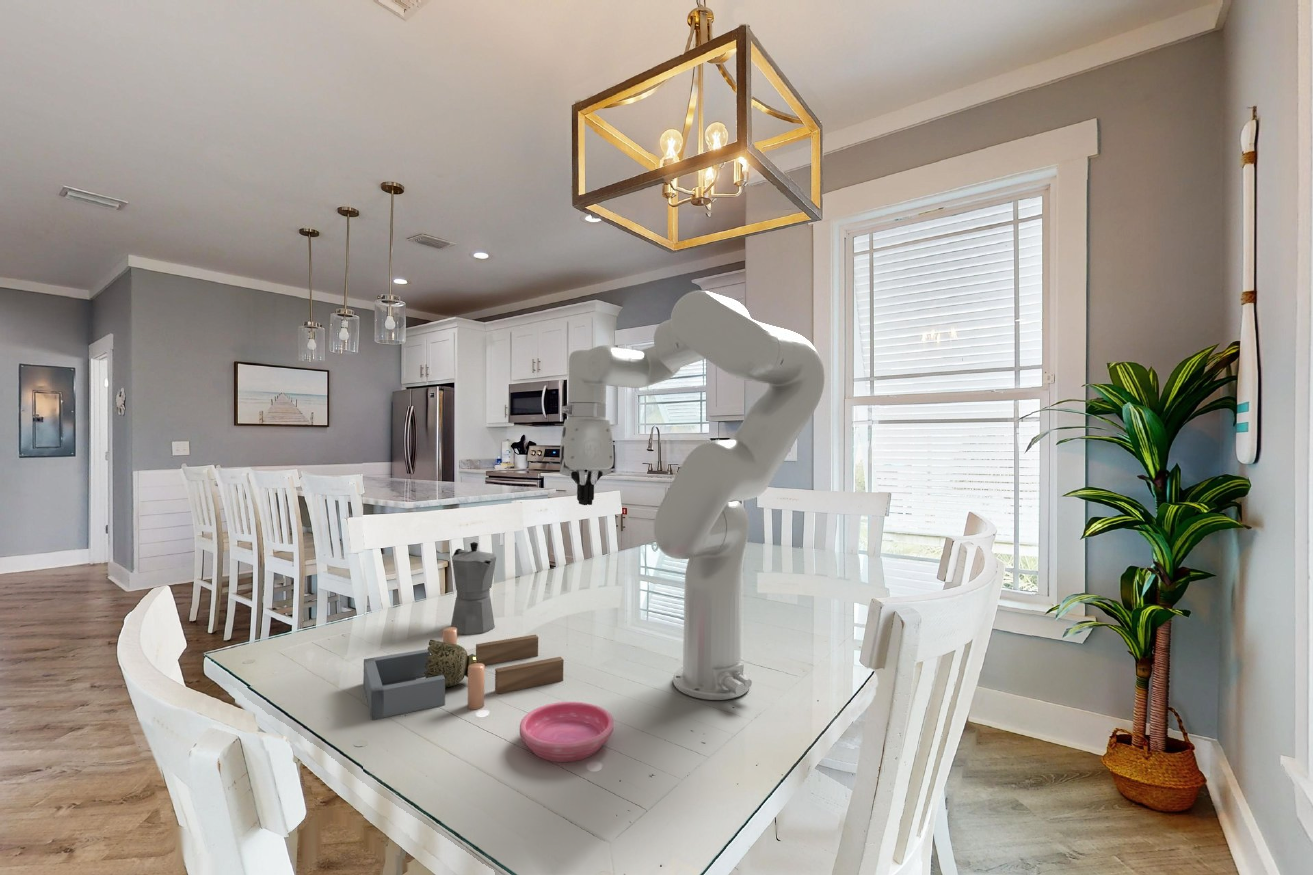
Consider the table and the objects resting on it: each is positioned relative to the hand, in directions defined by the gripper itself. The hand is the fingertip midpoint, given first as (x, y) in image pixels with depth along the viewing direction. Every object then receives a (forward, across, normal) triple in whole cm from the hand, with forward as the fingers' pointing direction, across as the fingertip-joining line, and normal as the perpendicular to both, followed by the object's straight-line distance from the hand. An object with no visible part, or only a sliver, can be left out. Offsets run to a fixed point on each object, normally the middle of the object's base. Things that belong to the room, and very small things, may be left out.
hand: (585, 504), depth 120 cm
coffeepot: (+27, -18, +18) cm, 37 cm away
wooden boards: (+27, -16, -10) cm, 33 cm away
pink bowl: (+28, -18, -36) cm, 49 cm away
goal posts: (+27, -26, -10) cm, 39 cm away
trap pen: (+27, -35, -10) cm, 45 cm away
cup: (+24, -24, -11) cm, 36 cm away
